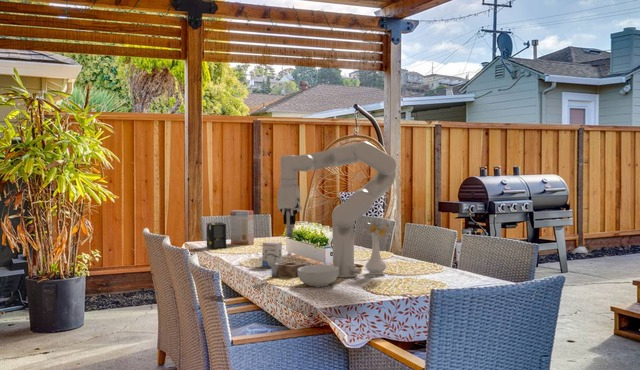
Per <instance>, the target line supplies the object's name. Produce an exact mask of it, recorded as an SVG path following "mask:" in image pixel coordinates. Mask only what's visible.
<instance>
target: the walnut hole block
mask: <svg viewBox="0 0 640 370" xmlns="http://www.w3.org/2000/svg"><path fill="white" fill-rule="evenodd" d="M304 266H305V263H301V262H300V263H299V262H294V261H293V262H292V261H284V262H282V263H279V264H278V277H284V276H286V277H285V278H291V277H294V278H297V277H296V276H298V268H300V267H304Z"/></svg>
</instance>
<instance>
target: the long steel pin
mask: <svg viewBox="0 0 640 370" xmlns="http://www.w3.org/2000/svg"><path fill="white" fill-rule="evenodd" d="M290 216H291V209H286V224H285V229H286V230H285V233H286V235H285V237H286V238H293V237H294V224H293V225H290Z"/></svg>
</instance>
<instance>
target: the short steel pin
mask: <svg viewBox="0 0 640 370" xmlns="http://www.w3.org/2000/svg"><path fill="white" fill-rule="evenodd" d="M270 268H271V269H270V270H271V272H270V273H271V278H272V277H278V278H279V276H278V263H272V264H271V267H270Z"/></svg>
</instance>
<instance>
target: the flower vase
mask: <svg viewBox="0 0 640 370" xmlns="http://www.w3.org/2000/svg"><path fill="white" fill-rule="evenodd" d="M369 221H370V222H369ZM392 229H393V227H392V226H390V223H389V222H388V220H387V219H386V218H384V220H382V219H381V218H377V219H374V217H369V220H368V218H366V219H365V222H364V226H363V227H362V228H361V233H360V234H361V235H362V234H363V233H364V232H365V231H366V234H367V236H368V235H371V240H372V245H371V246H372V250H371V256H370V258H369V259H368V260H367V262H366V263H365V269H366V270H367V271H368V273H369V275H372V276H378V275H383V274H384V271H385V270H386V269H387V264H386V262H385V261H384V260H383V259H382V257H381V256H382V255H381V251H380V241H381V240H382V238H383V239H384V240H385V241H388V240H389V236H388V235H390V236H391V235H392V233H391V232H392Z"/></svg>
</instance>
